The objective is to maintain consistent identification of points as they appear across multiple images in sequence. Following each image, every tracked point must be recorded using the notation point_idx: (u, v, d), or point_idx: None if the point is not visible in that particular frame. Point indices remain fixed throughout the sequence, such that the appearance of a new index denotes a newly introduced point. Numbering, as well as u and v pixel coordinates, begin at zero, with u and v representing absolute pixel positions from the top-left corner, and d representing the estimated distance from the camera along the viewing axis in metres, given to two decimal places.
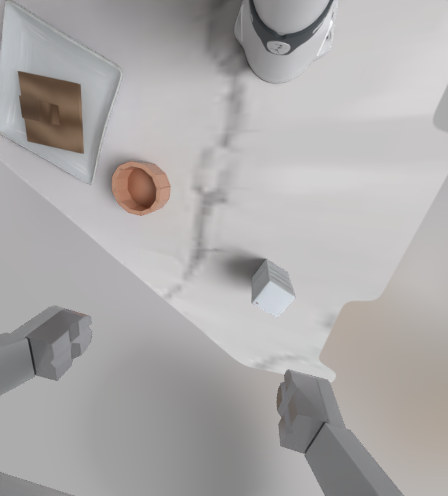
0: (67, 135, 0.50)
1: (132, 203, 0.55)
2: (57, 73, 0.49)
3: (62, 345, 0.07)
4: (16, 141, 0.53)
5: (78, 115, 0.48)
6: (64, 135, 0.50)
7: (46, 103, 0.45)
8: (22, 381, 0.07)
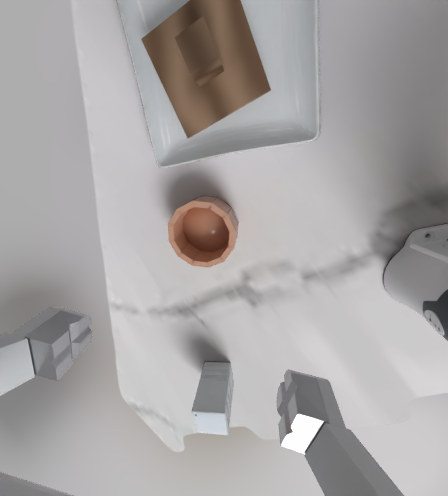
0: (195, 105, 0.32)
1: (179, 228, 0.41)
2: (258, 31, 0.31)
3: (62, 345, 0.07)
4: (123, 13, 0.31)
5: (231, 109, 0.32)
6: (192, 100, 0.32)
7: (219, 63, 0.28)
8: (22, 381, 0.07)
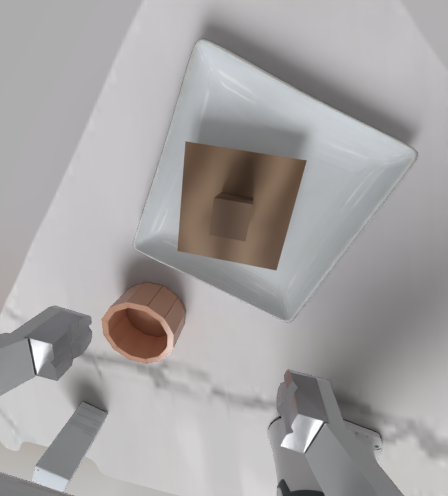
0: (202, 233, 0.28)
1: None
2: (299, 208, 0.29)
3: (62, 345, 0.07)
4: (182, 97, 0.24)
5: (232, 260, 0.29)
6: (202, 227, 0.28)
7: None
8: (22, 381, 0.07)
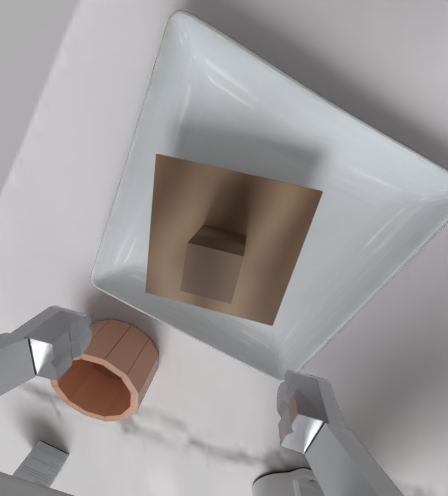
0: (178, 273, 0.22)
1: None
2: (304, 246, 0.23)
3: (62, 345, 0.07)
4: (152, 94, 0.17)
5: (216, 309, 0.22)
6: (177, 266, 0.21)
7: None
8: (22, 381, 0.07)
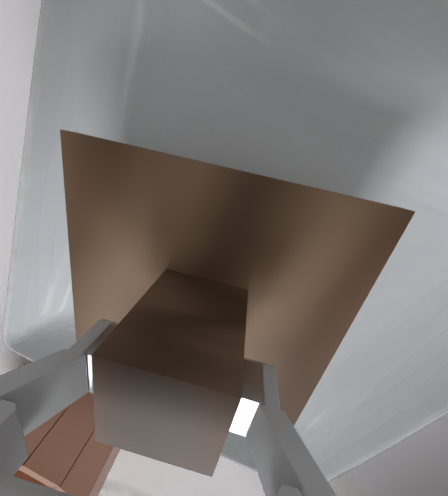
0: None
1: None
2: None
3: None
4: (55, 5, 0.08)
5: None
6: None
7: None
8: (77, 397, 0.07)
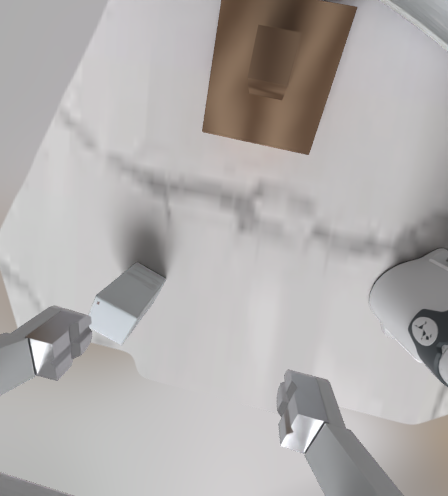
0: (232, 107, 0.26)
1: None
2: None
3: (62, 345, 0.07)
4: None
5: (262, 142, 0.27)
6: (232, 99, 0.26)
7: (282, 92, 0.23)
8: (22, 381, 0.07)
